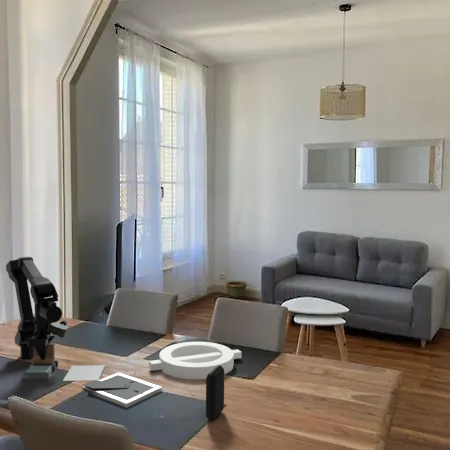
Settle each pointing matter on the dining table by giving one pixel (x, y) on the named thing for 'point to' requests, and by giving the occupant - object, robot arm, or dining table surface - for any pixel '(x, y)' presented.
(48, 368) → the offcut upper
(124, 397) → the picture frame
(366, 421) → the dining table surface
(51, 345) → the brown flat block
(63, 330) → the robot arm
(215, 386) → the carrying case or bag
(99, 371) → the board
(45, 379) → the rack
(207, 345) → the ring with crossbar
